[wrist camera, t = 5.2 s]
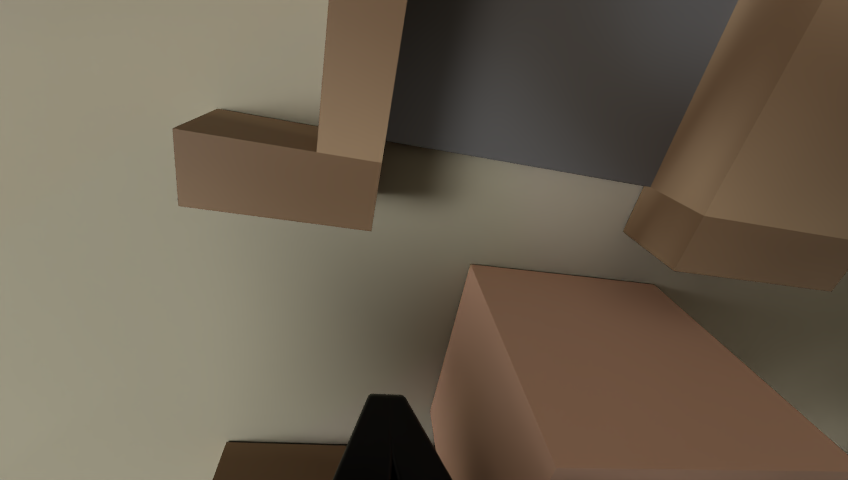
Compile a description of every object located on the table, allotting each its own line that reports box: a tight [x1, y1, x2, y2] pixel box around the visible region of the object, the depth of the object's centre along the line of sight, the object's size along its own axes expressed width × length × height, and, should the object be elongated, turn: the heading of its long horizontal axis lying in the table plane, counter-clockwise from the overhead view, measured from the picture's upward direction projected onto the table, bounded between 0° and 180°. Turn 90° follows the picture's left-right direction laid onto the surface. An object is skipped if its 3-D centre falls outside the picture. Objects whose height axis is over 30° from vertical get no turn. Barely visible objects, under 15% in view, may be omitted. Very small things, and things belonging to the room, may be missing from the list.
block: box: [430, 264, 848, 480], centre depth 9 cm, size 5×5×5 cm
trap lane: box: [173, 0, 848, 480], centre depth 10 cm, size 16×25×2 cm, turn 79°
